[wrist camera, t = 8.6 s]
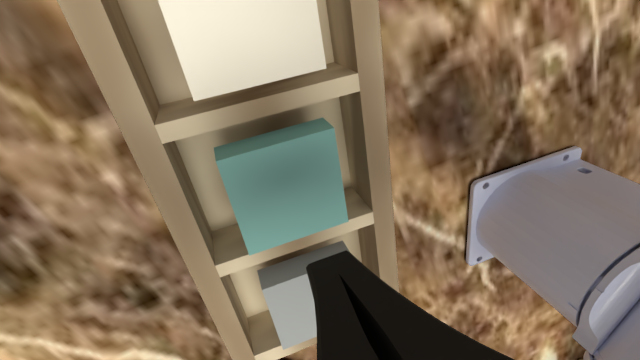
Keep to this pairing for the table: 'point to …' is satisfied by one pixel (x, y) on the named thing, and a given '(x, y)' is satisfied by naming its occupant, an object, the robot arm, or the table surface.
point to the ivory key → (243, 42)
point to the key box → (237, 124)
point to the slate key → (293, 295)
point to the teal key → (284, 184)
